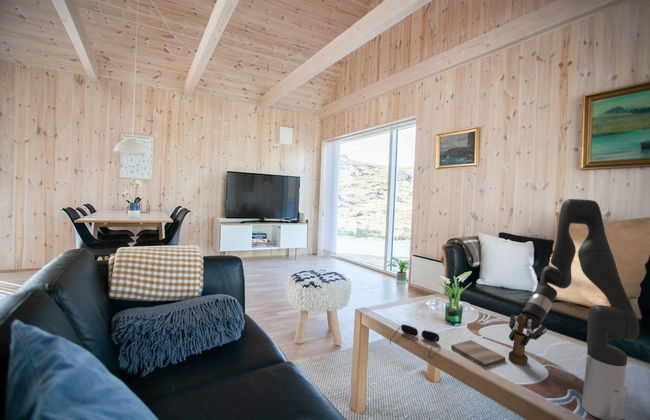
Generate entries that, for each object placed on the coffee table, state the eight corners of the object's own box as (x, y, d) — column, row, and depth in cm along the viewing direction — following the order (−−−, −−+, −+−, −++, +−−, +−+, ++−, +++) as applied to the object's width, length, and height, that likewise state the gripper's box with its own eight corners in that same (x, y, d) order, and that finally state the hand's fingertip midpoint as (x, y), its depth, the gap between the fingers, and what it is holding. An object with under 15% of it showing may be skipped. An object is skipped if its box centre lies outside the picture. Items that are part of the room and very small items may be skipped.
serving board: (505, 361, 131) (505, 357, 131) (485, 367, 126) (485, 363, 125) (470, 343, 145) (470, 340, 145) (451, 348, 140) (451, 345, 140)
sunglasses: (439, 343, 145) (439, 333, 144) (429, 362, 133) (429, 351, 132) (401, 333, 154) (401, 323, 153) (388, 349, 142) (388, 338, 141)
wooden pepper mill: (530, 366, 128) (533, 320, 127) (511, 364, 129) (515, 318, 128) (523, 357, 134) (527, 314, 133) (506, 355, 136) (509, 312, 134)
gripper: (516, 296, 140) (495, 329, 135) (552, 308, 127) (531, 345, 122) (523, 307, 143) (503, 339, 138) (559, 319, 130) (538, 356, 125)
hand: (516, 342), depth 130 cm, fingers closed on wooden pepper mill, 4 cm apart
